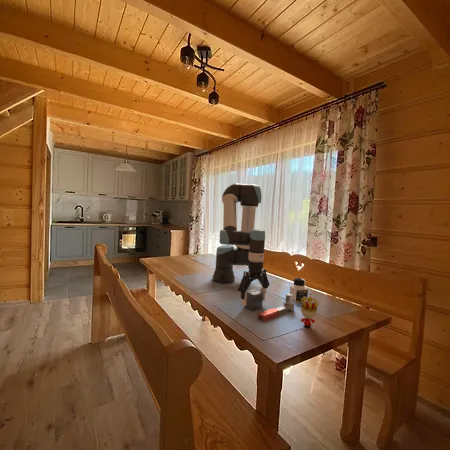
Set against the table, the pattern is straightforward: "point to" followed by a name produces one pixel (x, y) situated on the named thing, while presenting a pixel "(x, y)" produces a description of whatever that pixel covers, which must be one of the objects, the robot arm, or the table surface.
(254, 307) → the dark wooden cube
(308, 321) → the toy
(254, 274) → the robot arm
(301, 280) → the medicine bottle
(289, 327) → the table surface
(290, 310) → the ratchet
